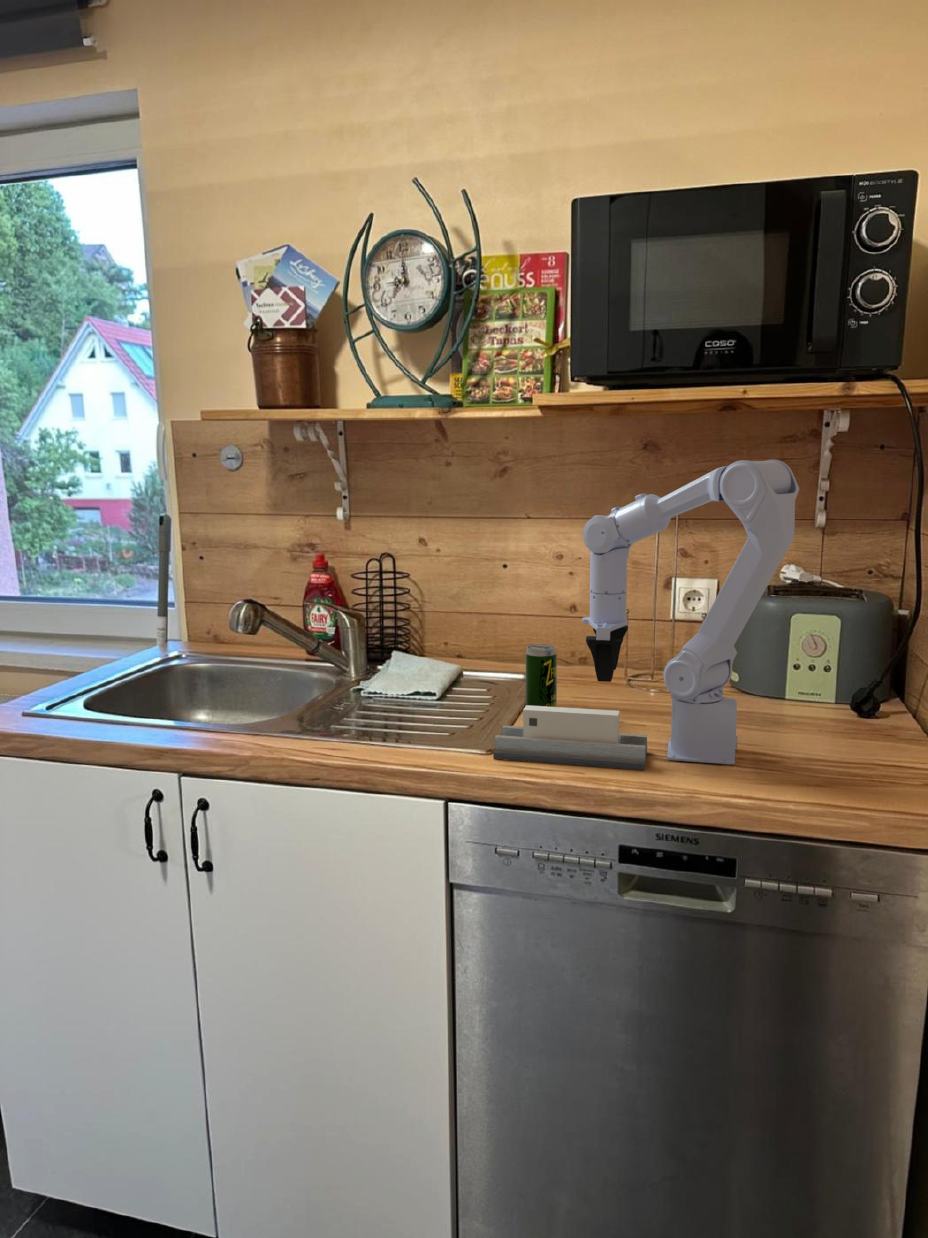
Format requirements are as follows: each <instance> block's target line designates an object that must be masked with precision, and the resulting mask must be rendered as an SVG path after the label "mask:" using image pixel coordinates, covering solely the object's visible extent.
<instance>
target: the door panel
mask: <svg viewBox="0 0 928 1238" xmlns="http://www.w3.org/2000/svg"><path fill="white" fill-rule="evenodd" d="M620 711H621V710H614V709H613V710H611V709H595V708H594V709H591V708H579V707H578V708H577V707H576V708H575V707H561V706H560V707H559V706H557V707H546V706H530V705H526V704H525V707H524V708H523V710H522V713H523V714H522V718H523V719H522V720H523V721H522V725H523V726H522V727H523V737H531V738H545V739H559V740H574V741H588V742H602V743H616V744H619V733H620Z"/></svg>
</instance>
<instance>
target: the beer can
mask: <svg viewBox="0 0 928 1238" xmlns="http://www.w3.org/2000/svg"><path fill="white" fill-rule="evenodd" d="M557 654H558V652H557V651H556V646H555V645H553V644H548V643H547V644H546V643H535V644H534V643H533V644H530V645H527V646H526V650H525V706H526V705H530V706H546V707H558V705H557V703H558V701H557V695H558V694H557V693H558V692H557V690H558V689H557V688H558V687H557V686H558V685H557V684H558V682H557V678H558V677H557V675H558V673H557V672H558V671H557V670H558V668H557V665H558V664H557V663H558V660H557V657H558V655H557Z"/></svg>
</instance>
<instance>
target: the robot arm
mask: <svg viewBox="0 0 928 1238" xmlns="http://www.w3.org/2000/svg"><path fill="white" fill-rule="evenodd" d="M799 492H800V486H799V485H798V482H797V480H796V478H795V475H794V472H793V471H792V468H790V466H789V465H788V464H786V463H785V462H784V461H782V460H779V459H768V460H756V461H755V460H754V461H751V460H745V459H744V460H736V461H734V462H733V463H731V464H729V465H725V466H721V467H717V468H715V469H714V470H711V471H710V472H707V473H706V474H704V475H702V476H700V477H698V478H697V479H695V480H692V481H691V482H688V483H686V484H685V485H683V486H681V487H679V488H678V489H676V490H674V491H672V492H670V493H668V494H666V495H664V496H662V497H661V496H659V495H656V494H652V493H650V494H647V493H640V494H638V495H635V496H634V499H635V500H634V501H633V502H631V503H628V504H626V505H625V506H622V507H621V506H616V507H613V508H612V509H611V510H610V511H611V512H610V513H609V515H601V514H600V515H599V514H598V515H594V516H593V517H592V518H590V519H589V520H587V522H586V523H585V525H584V526H583V530H582V538H583V542H584V545H585V547H586V549H588V550H589V551H590V553H589V557H590V559H589V616H585V617H582V621H581V623H582V624H588V625H589V626H590V627H592V631H593V633H594V635H587V636H586V638H585V642H586V645H587V648H589V651H590V653H591V656H592V659H593V665H594V670H595V676H596V680H597V682H605V683H612V680H613V677H614V672H615V671H616V670H617V667H618V663H619V658H620V651H621V648H622V643H623V642H624V638H625V635H626V634H627V632H628V629H629V626H628V618H627V592H628V591H627V586H628V584H627V583H628V559H629V556H630V555H629V554H630V549H631V547H632V546H633V545H634V544H635V543H637V542H640V541H642V540H644V539H646V538H649V537H651V536H653V535H656V534H658V533H660V532H662V531H665V530H666V529H667V528H668V527H669V525H670V522H671V519H672V518H673V517H676V516H678V515H681V514H684V513H686V512H688V511H691V510H694V509H697V508H698V507H700V506H703V505H706V504H709V503H711V502H715V503H716V502H717V503H719V502H720V503H721V502H725V504H726V505H727V506H728V507H729V508H730V510H731V511H732V512H733V513H734V515H735V516H736V517H737V518H738V519H739V521H740V522H741V524H742V526H743V528H744V530H745V533H746V535H747V539H746V541H745V543H744V544H743V547H742V549H741V550H740V552H739V554H738V556H737V558H736V559H735V562H734V564H733V566H732V568H731V569H730V571H729V573H728V575H727V577H726V579H725V581H724V582H723V584H722V586H721V588H720V590H719V592H718V594H717V596H716V597H715V600H714V601H713V603H712V605H711V607H710V609H709V610H708V612H707V614H706V616H705V619H703V622H702V624H701V625H700V627H699V630H697V633H696V634H695V635H694V636H692V638H690V640H688V641H687V642H686V643H685V644H684V645H683V646H682V648H681V650H680V652H679V653H678V654H677V655H676V656H675V657H673V658H672V659H670V660H669V661H668V662H667V663H666V665H665V666H664V669H663V675H662V676H663V682H664V685H665V688H666V689H667V690H668V692H669V694H671V695H670V699H671V717H670V718H671V720H670V721H671V722H670V723H671V725H670V726H671V727H670V740H668V744H667V753H666V754H667V755H666V760H667V761H677V762H678V761H679V762H681V761H682V762H690V763H691V762H692V763H704V764H717V765H720V764H721V765H736V749H738V736H737V725H738V724H737V722H738V721H737V719H738V718H737V716H738V715H737V714H738V713H737V712H738V706H737V705H738V702H737V699H736V698H733V697H732V698H731V697H726V696H724V687H725V686H726V685H727V684H728V682H729V681H730V680H731V678H732V676H733V675H732V674H733V664H734V660H735V658H736V656H737V655H738V652H737V649H736V648H735V644H736V643H737V641H738V639H739V637H740V635H741V634H742V632H743V630H744V628H745V627H746V625H747V624H748V621H749V619H750V617H751V616H752V615H753V612H754V611H755V609H756V607H757V605H758V604H759V602H760V600H761V598H762V596H763V595H764V592H765V591H766V589H767V587H768V586H769V585H770V582H771V581H772V579H773V577H774V575H775V573H776V571H777V569H778V568H779V566H780V564H781V563H782V561H783V559H784V557H785V555H786V554H787V552H788V550H789V548H790V547H791V545H792V543H793V540H794V537H795V527H796V526H795V523H796V522H795V521H796V520H795V519H796V517H795V513H796V499H797V496H798V495H799Z"/></svg>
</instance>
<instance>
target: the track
mask: <svg viewBox="0 0 928 1238" xmlns="http://www.w3.org/2000/svg"><path fill="white" fill-rule="evenodd" d="M492 754H493V755H492V758H497V759H496V760H503V759H509V760H508V761H516V760H518V762H528V761H530V763H533V762H534V763H541V762H542V763H543V764H544V763H545V764H554V763H555V764H556V765H569V766H580V765H583V767H591V768H592V767H595V768H607V769H619V770H620V769H621V770H632V771H645V767H646V762H647V761H646V760H647V757H648V756H647V754H648V734H639V733H637V734H636V733H621V732H619V744H616V743H602V742H588V741H574V740H559V739H545V738H531V737H523V726H517V725H516V726H515V725H503V724H502V727H501V735H500V734H499V735H498V734H496V735H495V736H494V750H493V752H492ZM542 763H541V764H542Z"/></svg>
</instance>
